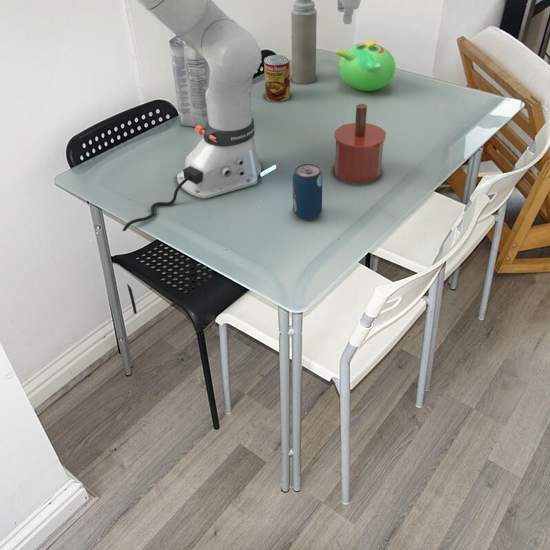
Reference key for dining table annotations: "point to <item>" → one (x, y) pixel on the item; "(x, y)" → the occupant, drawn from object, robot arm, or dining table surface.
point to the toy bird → (366, 66)
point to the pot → (358, 163)
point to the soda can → (307, 191)
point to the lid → (360, 132)
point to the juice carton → (190, 83)
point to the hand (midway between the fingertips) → (344, 16)
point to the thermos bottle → (303, 41)
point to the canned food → (277, 77)
